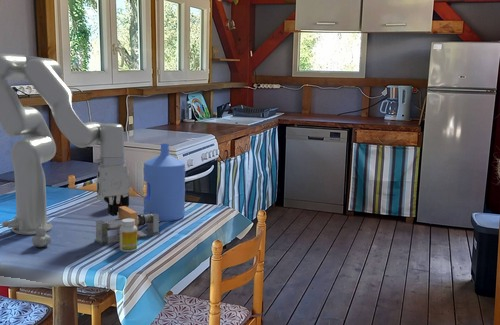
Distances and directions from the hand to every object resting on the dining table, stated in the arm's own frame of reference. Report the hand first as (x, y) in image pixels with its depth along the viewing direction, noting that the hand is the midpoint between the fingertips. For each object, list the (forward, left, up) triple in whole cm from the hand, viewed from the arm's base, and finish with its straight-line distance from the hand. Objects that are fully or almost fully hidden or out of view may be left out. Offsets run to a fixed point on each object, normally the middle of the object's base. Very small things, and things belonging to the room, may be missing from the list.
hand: (113, 214), depth 176 cm
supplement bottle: (-2, -15, -8) cm, 17 cm away
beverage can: (+18, +32, -7) cm, 37 cm away
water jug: (+26, +11, -8) cm, 29 cm away
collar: (+3, -4, -7) cm, 9 cm away
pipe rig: (+3, -4, -7) cm, 9 cm away
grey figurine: (-23, +2, -8) cm, 24 cm away
